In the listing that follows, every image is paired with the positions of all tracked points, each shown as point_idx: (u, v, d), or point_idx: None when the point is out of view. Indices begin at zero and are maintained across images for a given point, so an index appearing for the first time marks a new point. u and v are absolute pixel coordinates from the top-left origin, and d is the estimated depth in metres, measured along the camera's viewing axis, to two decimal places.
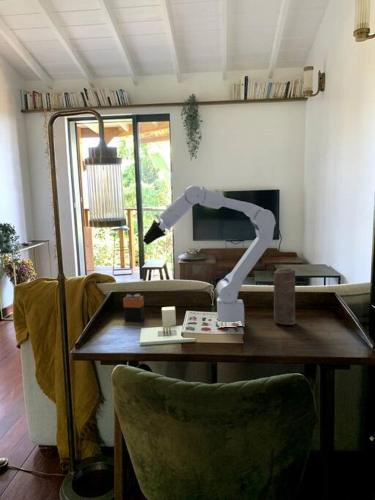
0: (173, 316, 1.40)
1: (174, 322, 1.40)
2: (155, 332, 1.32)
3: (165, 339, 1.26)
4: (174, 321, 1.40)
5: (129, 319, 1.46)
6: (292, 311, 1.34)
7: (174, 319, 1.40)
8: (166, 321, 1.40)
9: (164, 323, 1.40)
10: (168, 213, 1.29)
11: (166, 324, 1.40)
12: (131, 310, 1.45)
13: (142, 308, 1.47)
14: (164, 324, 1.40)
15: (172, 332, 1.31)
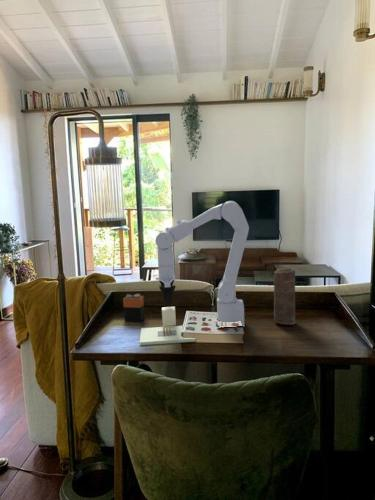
0: (173, 316, 1.40)
1: (174, 322, 1.40)
2: (155, 332, 1.32)
3: (165, 339, 1.26)
4: (174, 321, 1.40)
5: (129, 319, 1.46)
6: (292, 311, 1.34)
7: (174, 319, 1.40)
8: (166, 321, 1.40)
9: (164, 323, 1.40)
10: (162, 269, 1.36)
11: (166, 324, 1.40)
12: (131, 310, 1.45)
13: (142, 308, 1.47)
14: (164, 324, 1.40)
15: (172, 332, 1.31)
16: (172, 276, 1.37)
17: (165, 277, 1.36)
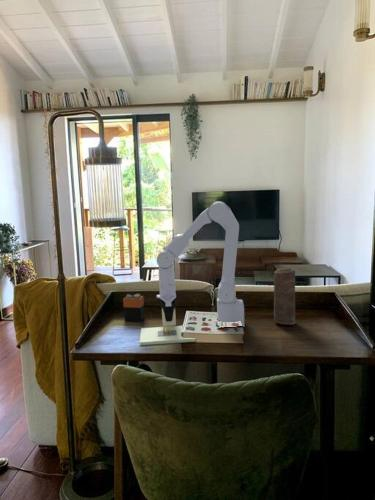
0: (173, 316, 1.40)
1: (174, 322, 1.40)
2: (155, 332, 1.32)
3: (165, 339, 1.26)
4: (174, 321, 1.40)
5: (129, 319, 1.46)
6: (292, 311, 1.34)
7: (174, 319, 1.40)
8: None
9: (164, 323, 1.40)
10: (163, 288, 1.37)
11: (166, 324, 1.40)
12: (131, 310, 1.45)
13: (142, 308, 1.47)
14: (164, 324, 1.40)
15: (172, 332, 1.31)
16: (173, 295, 1.38)
17: (166, 296, 1.37)
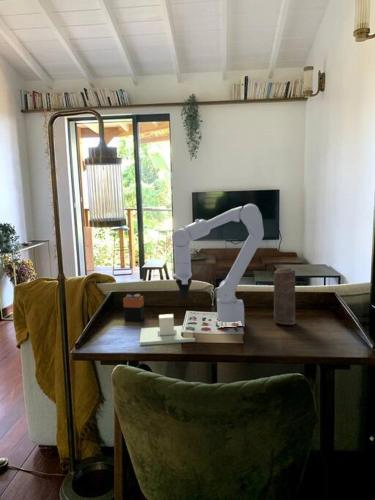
0: (171, 324, 1.29)
1: (172, 331, 1.29)
2: (155, 332, 1.32)
3: (165, 339, 1.26)
4: (172, 330, 1.29)
5: (129, 319, 1.46)
6: (292, 311, 1.34)
7: (173, 328, 1.29)
8: (164, 330, 1.29)
9: (161, 332, 1.29)
10: (179, 267, 1.36)
11: (164, 333, 1.29)
12: (131, 310, 1.45)
13: (142, 308, 1.47)
14: (161, 333, 1.29)
15: None
16: (189, 273, 1.37)
17: (182, 274, 1.36)
